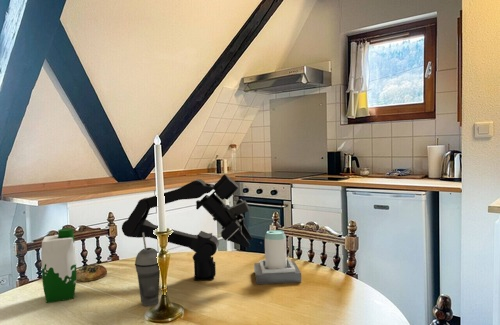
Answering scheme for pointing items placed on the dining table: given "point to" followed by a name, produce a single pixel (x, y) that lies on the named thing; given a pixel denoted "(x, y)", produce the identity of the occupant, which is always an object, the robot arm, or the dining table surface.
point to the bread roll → (91, 273)
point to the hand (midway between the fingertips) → (250, 243)
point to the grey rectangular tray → (277, 273)
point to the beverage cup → (148, 275)
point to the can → (275, 249)
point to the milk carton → (59, 266)
